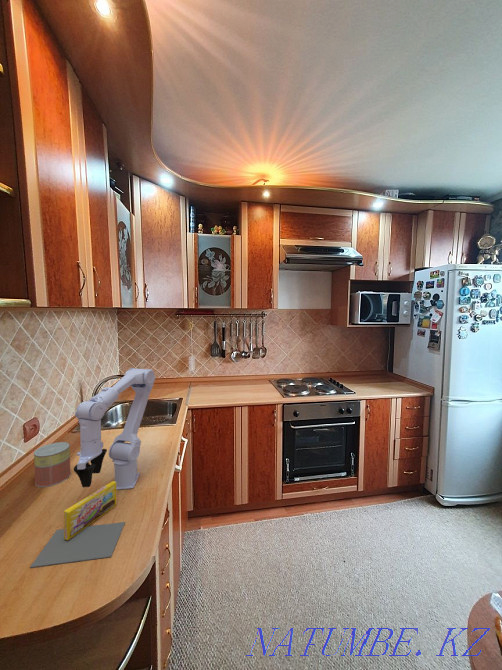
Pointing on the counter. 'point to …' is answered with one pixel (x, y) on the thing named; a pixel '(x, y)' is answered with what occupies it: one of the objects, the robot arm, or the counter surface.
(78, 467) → the robot arm
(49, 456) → the canned food
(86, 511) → the candy box
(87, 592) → the counter surface
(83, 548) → the mat
